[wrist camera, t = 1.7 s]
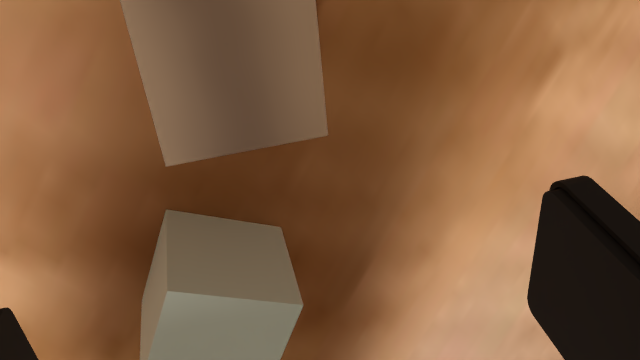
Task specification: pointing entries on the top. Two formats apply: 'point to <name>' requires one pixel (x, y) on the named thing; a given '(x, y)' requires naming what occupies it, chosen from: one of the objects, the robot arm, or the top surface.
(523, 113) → the top surface
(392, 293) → the top surface
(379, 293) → the top surface
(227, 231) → the sage cube
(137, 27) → the walnut cube
